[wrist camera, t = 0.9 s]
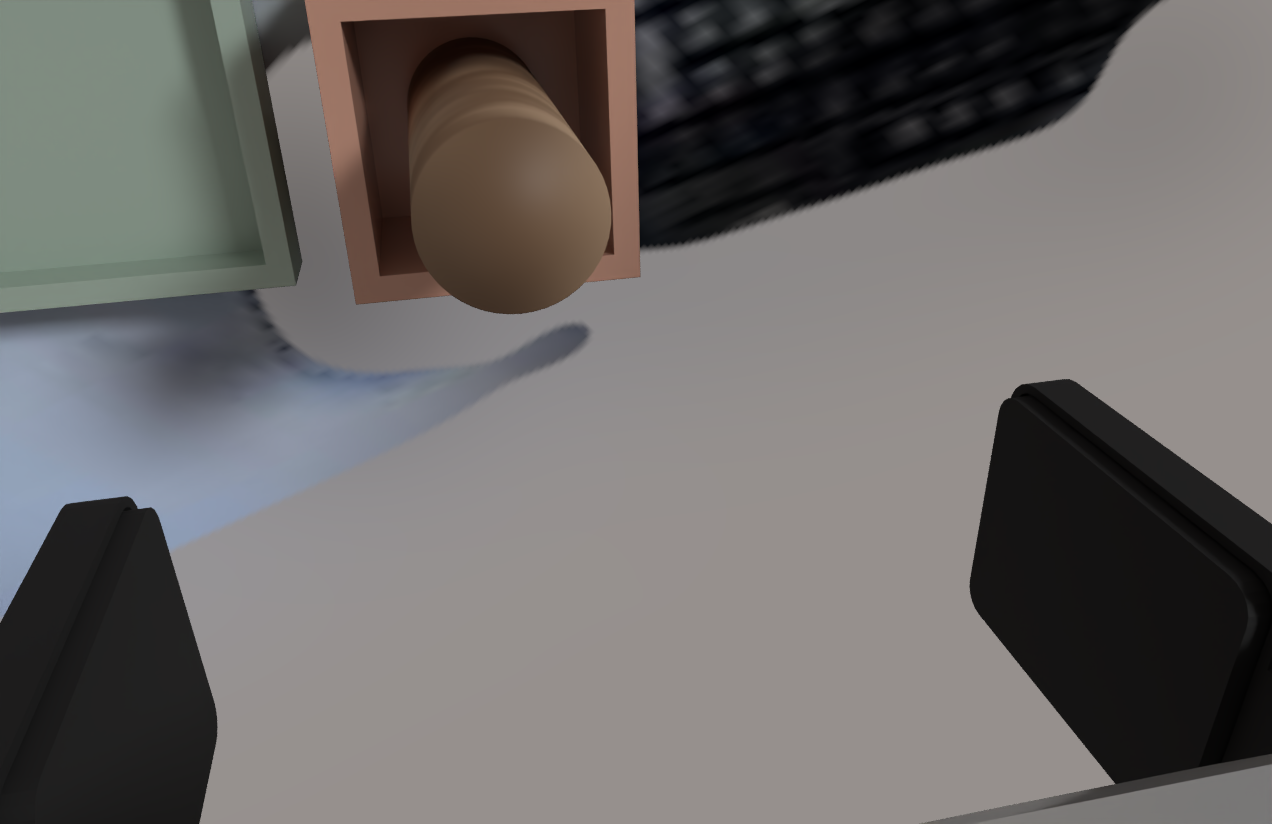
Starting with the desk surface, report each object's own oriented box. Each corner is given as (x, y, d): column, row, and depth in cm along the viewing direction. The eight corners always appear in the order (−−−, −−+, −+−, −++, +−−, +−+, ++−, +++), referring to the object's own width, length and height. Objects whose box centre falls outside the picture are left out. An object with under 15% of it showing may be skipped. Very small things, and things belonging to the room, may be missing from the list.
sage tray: (227, -127, 29) (214, -128, 27) (302, 261, 35) (295, 285, 33) (-274, -115, 27) (-330, -115, 25) (-107, 297, 33) (-141, 325, 31)
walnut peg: (535, 33, 32) (607, 112, 21) (544, 167, 34) (614, 304, 23) (398, 41, 32) (398, 126, 20) (416, 177, 34) (424, 323, 22)
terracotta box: (593, -41, 32) (633, -25, 27) (603, 216, 36) (640, 277, 31) (320, -30, 31) (302, -11, 25) (363, 236, 35) (356, 304, 29)
